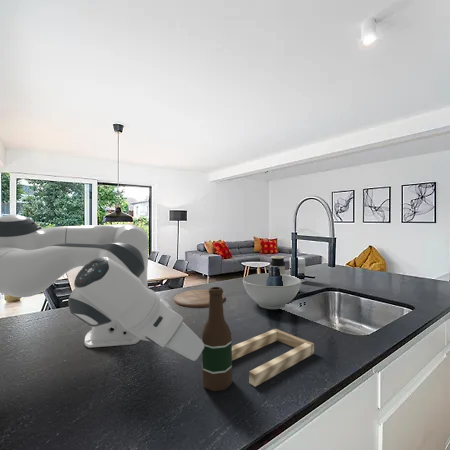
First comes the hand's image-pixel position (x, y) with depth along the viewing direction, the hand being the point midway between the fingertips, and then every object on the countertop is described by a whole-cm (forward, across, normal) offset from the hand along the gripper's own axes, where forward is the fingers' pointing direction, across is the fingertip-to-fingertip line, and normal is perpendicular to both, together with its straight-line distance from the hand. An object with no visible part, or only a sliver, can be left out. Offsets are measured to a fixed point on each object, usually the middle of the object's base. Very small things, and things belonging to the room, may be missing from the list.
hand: (189, 348), depth 65 cm
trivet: (+40, -61, +23) cm, 77 cm away
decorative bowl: (+54, -32, +38) cm, 73 cm away
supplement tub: (+88, -51, +72) cm, 124 cm away
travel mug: (+72, -49, +56) cm, 103 cm away
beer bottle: (+14, 0, -2) cm, 14 cm away
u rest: (+26, 0, +10) cm, 28 cm away
